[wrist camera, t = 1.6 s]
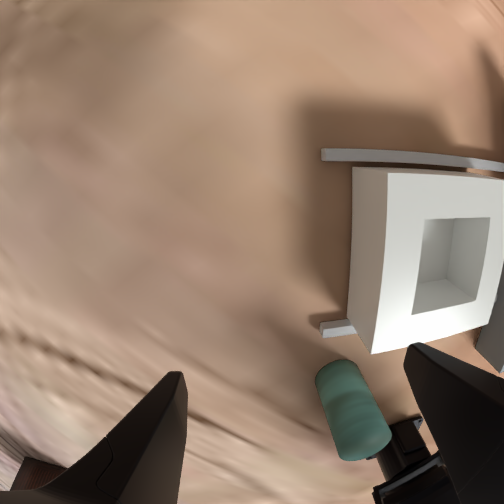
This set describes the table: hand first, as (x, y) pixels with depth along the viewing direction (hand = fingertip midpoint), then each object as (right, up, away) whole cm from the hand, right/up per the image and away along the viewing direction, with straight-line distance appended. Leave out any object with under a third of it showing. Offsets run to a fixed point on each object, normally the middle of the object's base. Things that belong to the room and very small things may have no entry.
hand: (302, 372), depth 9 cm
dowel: (+6, -7, +16) cm, 18 cm away
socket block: (+11, +4, +12) cm, 16 cm away
